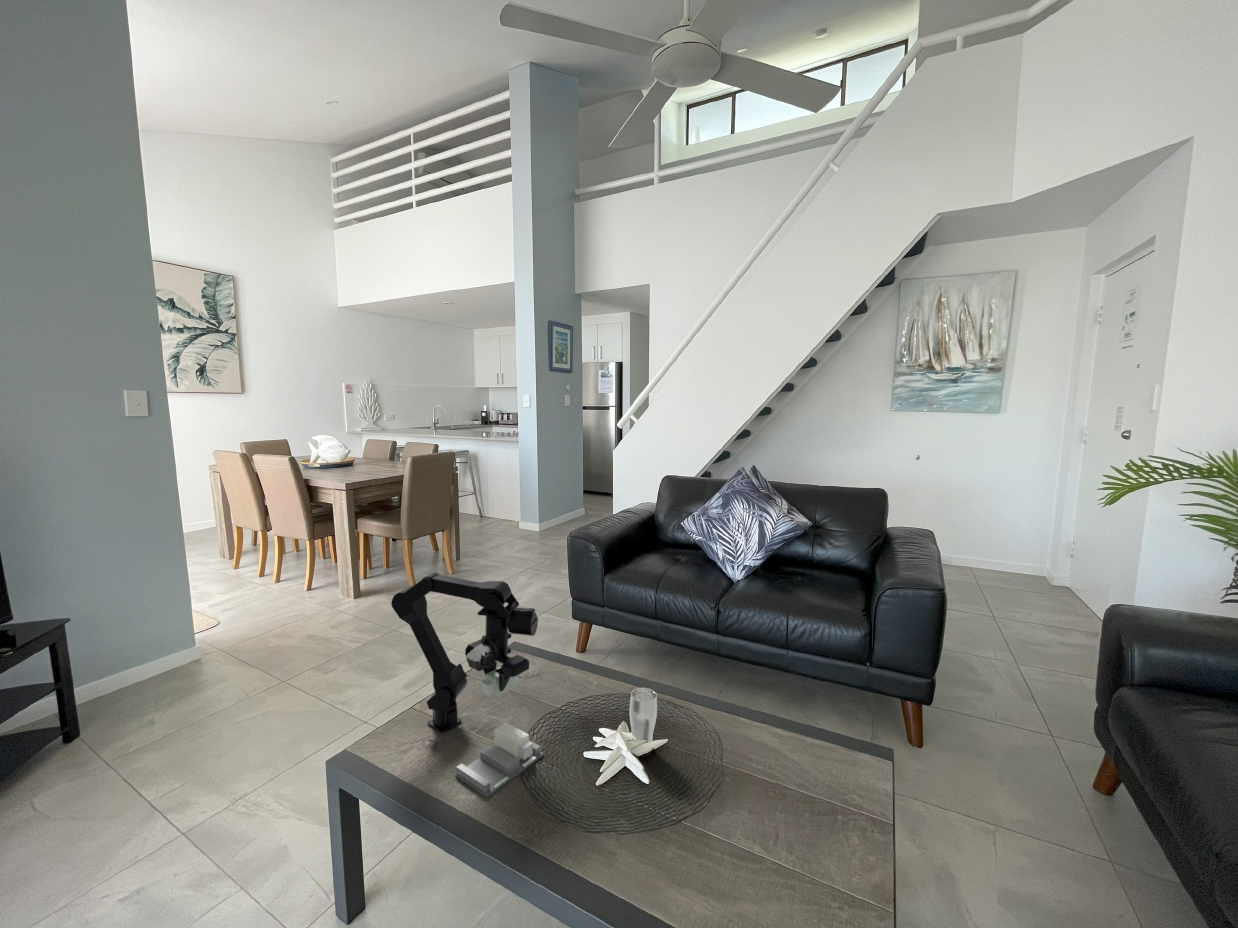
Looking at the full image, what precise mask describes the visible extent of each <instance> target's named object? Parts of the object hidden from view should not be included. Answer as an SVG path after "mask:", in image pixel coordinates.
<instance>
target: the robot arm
mask: <svg viewBox="0 0 1238 928" xmlns="http://www.w3.org/2000/svg"><path fill="white" fill-rule="evenodd" d="M430 592H433V593H438V594H443V595H447V596H452V597H456V598H462V599H467V600H471V601H474V602H475V603H476V604H477V605H479V607H482V608H481V609H480V610H479V611H478V612H477V616H483V617H485V634H483V635H481V639H479V640H476V641H474V642H473V641H472V642H471V643H469V644H467V646H466V647H465V649H464V650H465V654H464V655H465V659H466V660H467V661H466V662H467V664H468V667H469V668H470V669H471V668H472V669H474V670H475V671H477V672H481V671H483V674H484V676H485V677H486V674H487V673H489V672H491V671H493V670H495V669H497V664H501V665H500V667H501V668H499V667H498V668H499V669H497V670H495V672H497V673H498V674H499V687H500V691H503V690H504V689H505V687H506V685H507V683H508V681H509V679H510V677H515V676H517V675H519V676H520V675H521V674H522V673H524V672H526V671H528V670H529V669H530V660H529V659H528V658H526V657H524V656H523V655H519V654H516V655H514V656H508V655H509V654H511V653H512V648H510V647H509V639H511V638H512V635H519V636H520V635H521V636H528V637H529V636H530V637H534V636H535V635H536V633H537V630H538V625H539V624H538V623H539V618H538V614H537V612H536V608H532V607H529V608H525V607H519V606H520V602H518V600H517V598H516V597H515V596H514V594H513V593H512V589H511V587H510V585H509V584H508V583H507V582H505V581H502V580H487V581H480V582H479V581H473V580H469V579H463V578H459V577H454V576H449V575H445V574H440V573H437V572H430V573H429V574H427V575H425V576H424V577H422V578H421V580H420V581H419V582H417V583H415V584H414V585H413V584H412V585H409V586H407V587H405V588H404V589H402V590H401V591H399V592H397V593H396V594H394V595H393V597H392V599H391V602H390V603H391V607H392V610H393V611H394V612H395V613H396V615H397V616H398V618H399V619H400V620H401V621H403V622H404V623H406V624H408V625H409V627H410V629H411V631H412V633H413V634H414V637H415V639H416V641H417V643H418V645H419V647H420V649H421V651H422V653H423V655H424V656H425V658H426V661H427V663H428V665H429V667H430V669H431V671H432V686H433V690H434V694H433V695H431V696H430V698H429V699H428V700H426V704H427V707H428V709H429V710H431V711H432V718H431V719H430V720H428V721H427V725H428V726H430V727H431V728H433V729H435V730H436V731H439V733H440V734H441V733H444V732H447V731H448V730H450V729H451V728H454V727H455V726H457V725H459V724H460V723H462V719H461V718H459V717H458V703H457V698H458V697H459V695H460V694H461V693H462V692H463V691H464V689H466V687H467V684H468V679H467V677H468V674H467V673H465V671H464V668H463V666H462V664H461V663H458V664H454V663H453V662H452V661H451V660H450V659H449V657H448V654H447V653H446V650H445V648H444V647H443V644H442V643H441V640H440V638H439V637H438V634H437V631H436V630H435V628H434V626H433V624H432V622H431V620H430V618H429V615H428V602H427V598H426V595H427V594H429V593H430ZM506 603H507V605H506V606H505V604H506Z"/></svg>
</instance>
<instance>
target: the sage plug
mask: <svg viewBox="0 0 1238 928" xmlns="http://www.w3.org/2000/svg"><path fill="white" fill-rule="evenodd" d="M499 668H501V666H500V667H496V669H495V670H497V669H499ZM495 670H493V671H491V672H489V673H487V674H486V676H485V679H483V681H481V682H480V683H481V684H480V693H482V694H483V695H486V696H488V697H489V696H492V697H494V698H498V697H499V696H501V695H504V694H505V693H506V692H508V691H509V690H510V691H511V690H512V689H513V688H515V687H517V686H519V684H520V683H519V678H520V677H519V676H520V674H519V675H517V676H515V677H510V679H509V681H508V683H507V685H506V687H505V689H504V690H503V691H500V687H499V674H498V673H497V672H495Z"/></svg>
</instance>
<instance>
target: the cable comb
mask: <svg viewBox="0 0 1238 928" xmlns="http://www.w3.org/2000/svg"><path fill="white" fill-rule="evenodd" d="M529 741H530V742H531V743H533V754H532V755H530V756H529V757H528V758H526V759H525V760H523V759H520V760H517V759H515V758H514V757H512V756H510V755H509V754H507V753H505V752H504V751H502V750H500V749H499V748H497V747H495V746H494V744H489V745H488V746H487V747H484V748H482V750H480V751H479V758H477V759H475V760H474V761H472V762H471V763H470V764H467V766H466V765H465V764H464V763H459V765H457V766H456V769H455V774H454V775H455V777H456V779H459V780H460V781H462V783H464V784H466V785H468V786H469V787H471V788H472V789H473V790H475V791H476V792H477V793H479V794H481V796H484V797H485V798H487V799H488V798H489V797H490V796H492V795H493V794H494V793H495V792H497V791H498V790H499V789H501V788H502V787H504V786H505V785H507V784H508V783H509V782H510V781H512V780H513V779H514V778H516V777H517V776H518V775H520V774H521V773H523V772H524V771H525V770H526V769H528V768H529V767H530V766H532V765H533V764H534V763H535V762H538V760H539V759H541V758H543V757H544V756H545V753H544V752H542V751H541V746H540V745H539V744H537V743H536V742H534V741H532V740H530V739H529Z"/></svg>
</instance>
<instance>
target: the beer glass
mask: <svg viewBox="0 0 1238 928" xmlns="http://www.w3.org/2000/svg"><path fill="white" fill-rule="evenodd" d="M629 700H630V701H629V713H628V714H629V724H630V731H631V736H632V735H633V736H634V737H635V738H636V739H637V740H641V741H642V740H646V741H647V742H653V734H654V730H655V727H656V726H655V725H656V723H657V722H656V721H657V717H658V694H657V692H656V691H654V690H653V689H652V688H649V687H648V688H647V687H637V688H635V689H632V690H631V693H630V699H629ZM646 741H645V742H646Z"/></svg>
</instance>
